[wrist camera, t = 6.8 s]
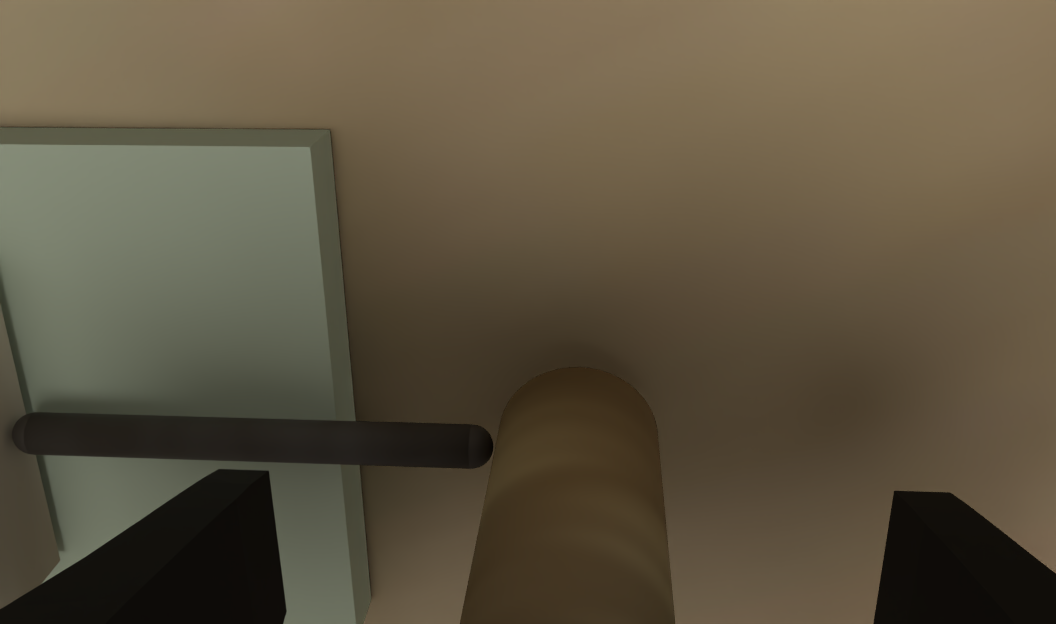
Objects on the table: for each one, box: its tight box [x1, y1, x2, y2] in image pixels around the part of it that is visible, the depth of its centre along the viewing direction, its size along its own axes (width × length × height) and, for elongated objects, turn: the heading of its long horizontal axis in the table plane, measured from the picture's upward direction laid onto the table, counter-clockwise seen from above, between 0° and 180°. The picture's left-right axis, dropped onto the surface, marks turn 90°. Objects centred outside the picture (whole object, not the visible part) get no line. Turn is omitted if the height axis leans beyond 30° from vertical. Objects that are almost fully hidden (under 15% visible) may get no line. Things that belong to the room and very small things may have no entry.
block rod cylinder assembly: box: [0, 305, 675, 624], centre depth 12 cm, size 15×5×5 cm, turn 91°
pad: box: [0, 127, 371, 624], centre depth 15 cm, size 9×8×1 cm
